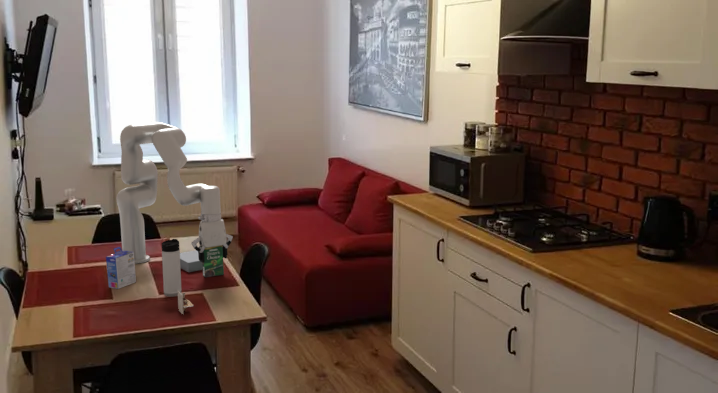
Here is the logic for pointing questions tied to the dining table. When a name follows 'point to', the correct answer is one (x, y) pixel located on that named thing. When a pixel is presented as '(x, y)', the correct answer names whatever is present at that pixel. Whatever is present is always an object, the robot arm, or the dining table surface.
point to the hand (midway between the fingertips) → (213, 259)
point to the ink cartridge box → (120, 268)
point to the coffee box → (213, 261)
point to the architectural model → (181, 302)
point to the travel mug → (171, 267)
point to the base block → (190, 261)
